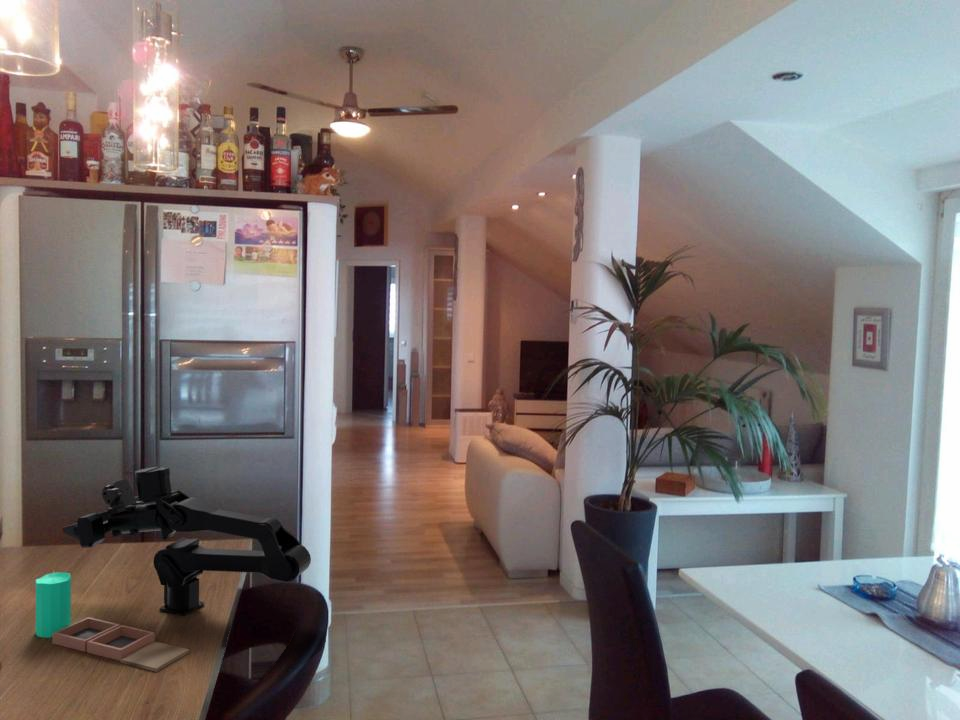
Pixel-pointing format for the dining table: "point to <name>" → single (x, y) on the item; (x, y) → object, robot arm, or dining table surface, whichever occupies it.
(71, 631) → the tray
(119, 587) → the dining table surface
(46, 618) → the candle
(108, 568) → the dining table surface
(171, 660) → the pad
